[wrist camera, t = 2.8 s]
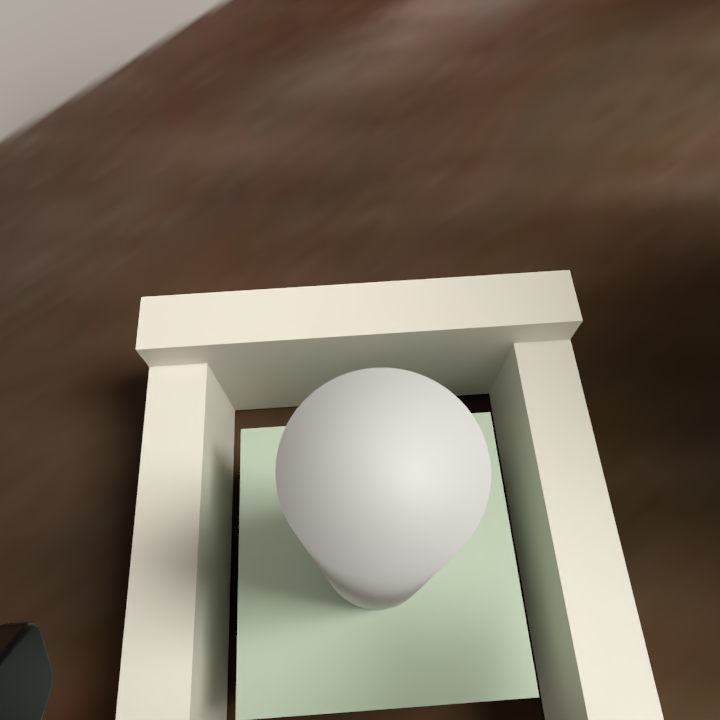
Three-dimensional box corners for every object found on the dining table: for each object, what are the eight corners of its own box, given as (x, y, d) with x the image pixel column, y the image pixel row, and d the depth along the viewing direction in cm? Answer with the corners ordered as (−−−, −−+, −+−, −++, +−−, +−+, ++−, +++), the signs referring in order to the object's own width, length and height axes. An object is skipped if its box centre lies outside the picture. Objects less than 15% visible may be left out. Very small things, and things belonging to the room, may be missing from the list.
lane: (637, 874, 14) (752, 976, 9) (155, 912, 13) (61, 1032, 9) (527, 348, 19) (569, 269, 15) (189, 369, 19) (140, 297, 15)
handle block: (499, 683, 15) (740, 765, 5) (266, 701, 15) (74, 819, 5) (465, 458, 18) (586, 230, 8) (267, 471, 18) (137, 258, 8)
